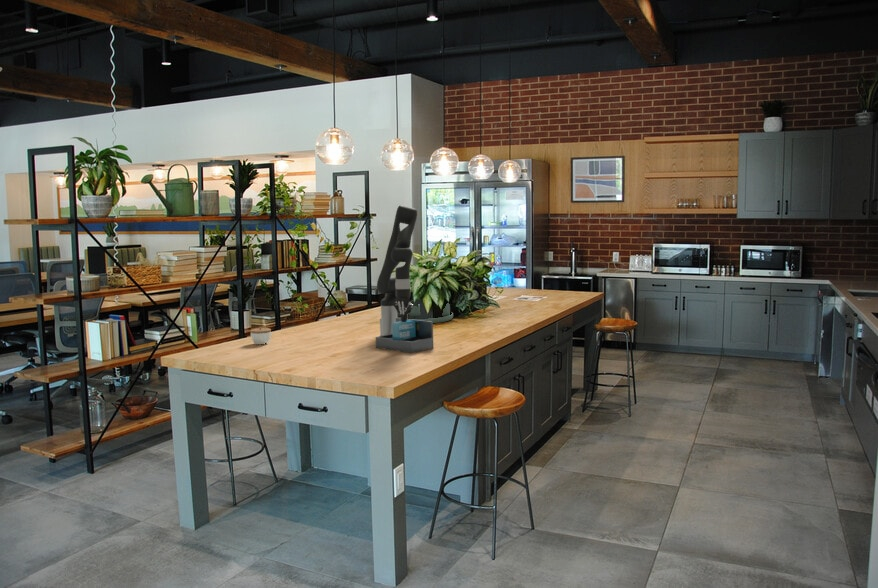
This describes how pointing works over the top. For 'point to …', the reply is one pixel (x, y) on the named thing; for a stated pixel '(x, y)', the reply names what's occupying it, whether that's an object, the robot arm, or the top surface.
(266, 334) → the lidded jar
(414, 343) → the rack
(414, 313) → the tea set
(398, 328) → the blue flat rounded slab
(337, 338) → the top surface
